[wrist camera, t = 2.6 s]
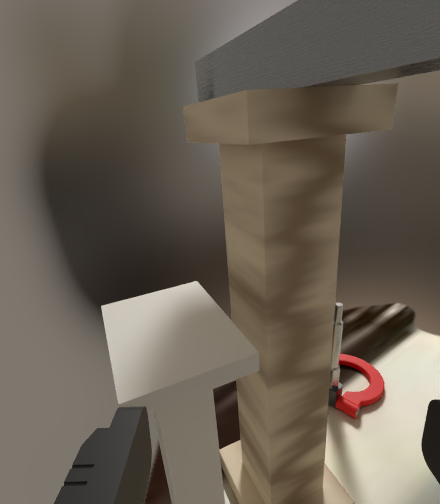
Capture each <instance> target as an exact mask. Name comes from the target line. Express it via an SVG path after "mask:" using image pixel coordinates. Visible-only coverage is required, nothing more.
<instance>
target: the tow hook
mask: <svg viewBox="0 0 440 504" xmlns="http://www.w3.org/2000/svg"><path fill="white" fill-rule="evenodd" d="M342 310H343V304H341V303H336V304H335V311H334V325H333V340H332V355H331V370H330V385H329V401H328V404H329V405H331V406H333V407H334V408H338V409H340V410H341V411H343V412H345V413H347V414H348V415H350V416H352V417H354V418H356V417H357V416H358V414H359V412H360V407H361V406H367V405H370V404H373V403H375V402H376V401H378V400H379V399H380V398H381V396H382V395H383V391H384V381H383V378H382V376H381V375H380V373H379V372H378V370H376V369H375V368H374V367H373V366H372V365H370V364H369V363H367V362H366V361H364V360H362V359H359V358H357V357H354V356H350V355H346V354H340V348H341V339H342V330H343V322H342V321H341V320H342ZM340 365H347V366H350V367H353V368H356V369H358V370H359V371H361V372H362V373H363V374H364V375H365V376H366V377H367V378H368V380H369V383H370V385H369V387H368V388H367V389H365V390H363V391H360V392H349V391H348V392H346V393H345V394H344V395H343V396H342V387H343V385H342V384H340V383H338V382H339V373H340Z"/></svg>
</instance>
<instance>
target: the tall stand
mask: <svg viewBox="0 0 440 504" xmlns="http://www.w3.org/2000/svg"><path fill="white" fill-rule="evenodd" d="M397 87H398V84H373V85H350V86H326V87H302V88H278V89H254V90H244V91H240V92H237V93H233V94H229V95H225V96H222V97H218V98H214V99H210V100H207V101H203V102H199V103H196V104H192V105H188V106H184V107H183V109H184V119H185V128H186V137H187V142H196V143H218V144H219V148H220V163H221V177H222V190H223V204H224V218H225V231H226V245H227V258H228V271H229V286H230V298H231V299H230V300H231V313H232V322H233V323H234V324H235V325H236V327H237V328H238V329H239V330H240V331H241V332H242V333H243V335H244V336H245V337H246V338H247V339H248V340H249V342H250V343H251V344H252V345H253V346H254V347H255V348H256V350H257V351H258V352H259V368H260V370H259V371H257V372H254V373H252V374H249V375H247V376H244V377H241V378H239V379H236V382H237V395H238V409H239V423H240V436H241V440H239V441H237V442H235V443H233V444H231V445H229V446H226V447H224V448H222V449H220V450H219V453H220V462H221V467H222V469H223V471H224V473H225V476H226V478H227V480H228V482H229V484H230V487H231V489H232V491H233V493H234V495H235V498H236V500H237V502H238V504H355V502H354V501H353V499H352V498H351V497H350V495H349V494H348V493H347V492H346V490H345V489H344V488H343V486H342V485H341V484H340V483H339V481H338V480H337V479H336V477H335V476H334V475H333V474H332V472H331V471H330V470H329V468H328V467H327V466H326V465H325V463H324V461H325V446H326V431H327V416H328V401H329V385H330V370H331V355H332V340H333V325H334V310H335V294H336V279H337V264H338V249H339V234H340V219H341V202H342V187H343V173H344V158H345V141H346V134H353V133H362V132H371V131H380V130H389V129H393V121H394V113H395V104H396V95H397Z"/></svg>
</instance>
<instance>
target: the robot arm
mask: <svg viewBox="0 0 440 504" xmlns="http://www.w3.org/2000/svg"><path fill="white" fill-rule="evenodd" d="M149 431H150V430H149V422H148V413H147V408H146V407H145V406H138V407H119V408H118V409H117V411H116V413H115V416H114V418H113V420H112V423H111V425H110V428H97V429H96V430H95V431H94V432H93V434H92V435H91V436H90V437H89V438H88V439H87V440H86V441H85V442H84V444H82V446H81V448H80V450H79V452H78V454H77V457H76V459H75V461H74V463H73V466H72V469H70V471H69V473H68V475H67V477H66V480H65V481H64V486H62V488H61V490H60V492H59V494H58V496H57V498H56V501H55V502H54V504H143V502H144V498H145V493H146V489H147V484H148V479H149V475H150V469H151V458H152V448H151V439H150V432H149ZM422 452H423V456H424V459H425V461H426V464H427V466H428V467H429V469H430V471H431V472H432V474H433V475H434V476H435V478H436V479H437V481H438V482H439V484H440V400H432V401H431V402H430V403H429V406H428V411H427V416H426V421H425V427H424V432H423V437H422Z"/></svg>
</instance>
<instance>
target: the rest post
mask: <svg viewBox="0 0 440 504" xmlns="http://www.w3.org/2000/svg"><path fill="white" fill-rule="evenodd" d="M101 308H102V314H103V319H104V325H105V331H106V336H107V342H108V347H109V353H110V359H111V365H112V370H113V376H114V382H115V388H116V393H117V399H118V404H119V407H138V406H145V407H146V408H147V413H148V414H150V413H154V419H155V423H156V428H157V432H158V438H159V443H160V448H161V452H162V457H163V462H164V467H165V472H166V477H167V481H168V486H169V491H170V496H171V501H172V504H230V502H229V499H228V497H227V495H226V492H225V490H224V489H223V480H222V471H221V462H220V453H219V444H218V434H217V425H216V416H215V407H214V398H213V389H214V388H216V387H219V386H221V385H224V384H226V383H229V382H231V381H234V380H236V379H239V378H241V377H244V376H247V375H249V374H252V373H254V372H257V371H259V370H260V368H259V352H258V351H257V350H256V348H255V347H254V346H253V345H252V344H251V343H250V342H249V340H248V339H247V338H246V337H245V336H244V335H243V333H242V332H241V331H240V330H239V329H238V328H237V327H236V325H235V324H234V323H233V322H232V321H231V320H230V319H229V317H228V316H227V315H226V314H225V313H224V312H223V310H222V309H221V308H220V307H219V306H218V305H217V304H216V302H215V301H214V300H213V299H212V298H211V297H210V296H209V294H208V293H207V292H206V291H205V290H204V289H203V287H202V286H201V285H200V284H199V283H198V282H197V281H195V282H191V283H188V284H184V285H180V286H176V287H172V288H168V289H165V290H161V291H157V292H153V293H150V294H146V295H142V296H138V297H134V298H130V299H127V300H123V301H119V302H115V303H111V304H107V305H103V306H101Z"/></svg>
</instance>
